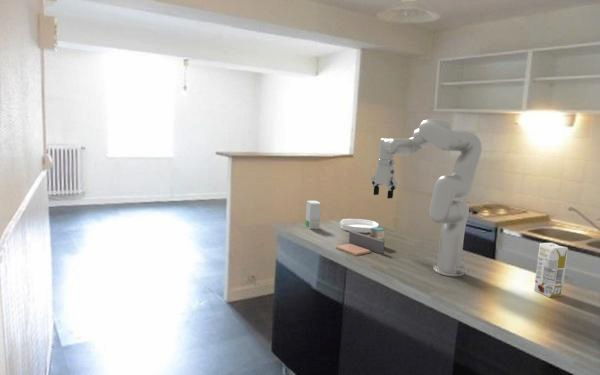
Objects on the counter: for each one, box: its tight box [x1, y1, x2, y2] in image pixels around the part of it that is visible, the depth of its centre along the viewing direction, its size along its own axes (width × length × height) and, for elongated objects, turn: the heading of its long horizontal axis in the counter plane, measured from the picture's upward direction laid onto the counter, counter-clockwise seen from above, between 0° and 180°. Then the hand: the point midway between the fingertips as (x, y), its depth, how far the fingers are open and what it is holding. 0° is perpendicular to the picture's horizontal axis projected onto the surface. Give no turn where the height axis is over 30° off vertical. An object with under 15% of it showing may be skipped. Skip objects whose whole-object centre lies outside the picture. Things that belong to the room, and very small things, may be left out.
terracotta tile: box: [335, 243, 371, 256], centre depth 209 cm, size 14×10×1 cm
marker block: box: [369, 226, 386, 242], centre depth 218 cm, size 5×5×9 cm
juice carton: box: [533, 242, 569, 298], centre depth 161 cm, size 8×9×19 cm
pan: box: [339, 218, 380, 234], centre depth 255 cm, size 24×27×4 cm
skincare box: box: [304, 200, 322, 230], centre depth 251 cm, size 8×7×16 cm
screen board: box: [348, 231, 385, 255], centre depth 214 cm, size 22×2×6 cm, turn 38°
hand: (382, 196), depth 216 cm, fingers open, 9 cm apart
